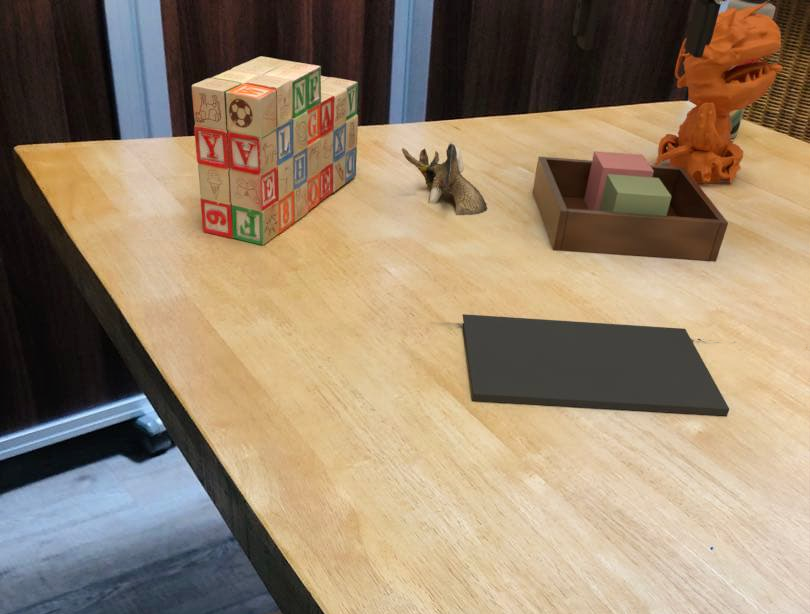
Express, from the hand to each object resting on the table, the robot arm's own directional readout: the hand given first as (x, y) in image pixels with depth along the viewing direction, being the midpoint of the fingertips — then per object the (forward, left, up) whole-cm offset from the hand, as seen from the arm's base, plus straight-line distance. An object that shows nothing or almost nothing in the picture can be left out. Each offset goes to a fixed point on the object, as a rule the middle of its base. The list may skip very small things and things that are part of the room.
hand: (638, 50), depth 75 cm
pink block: (-2, -5, -15) cm, 16 cm away
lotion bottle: (-23, -39, -16) cm, 48 cm away
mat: (+6, +27, -16) cm, 32 cm away
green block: (-2, +2, -15) cm, 16 cm away
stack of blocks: (+31, -2, -16) cm, 35 cm away
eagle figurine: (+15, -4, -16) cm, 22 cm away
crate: (-2, -1, -16) cm, 16 cm away
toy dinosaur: (-15, -19, -16) cm, 29 cm away
